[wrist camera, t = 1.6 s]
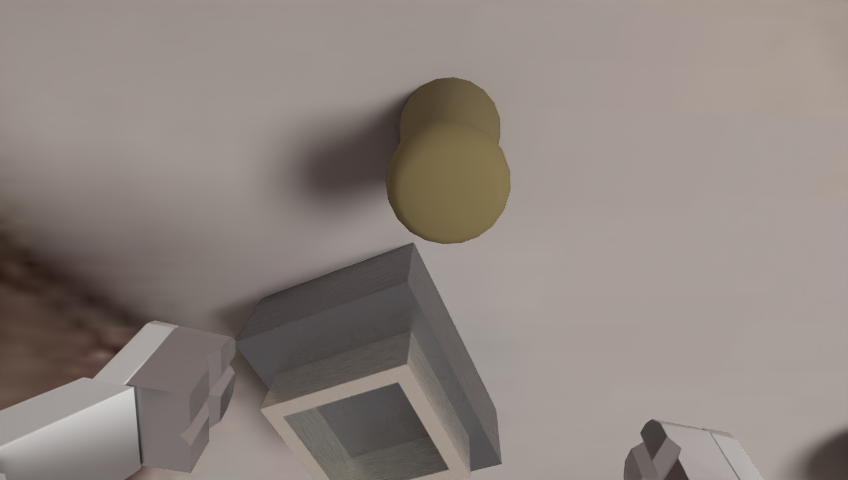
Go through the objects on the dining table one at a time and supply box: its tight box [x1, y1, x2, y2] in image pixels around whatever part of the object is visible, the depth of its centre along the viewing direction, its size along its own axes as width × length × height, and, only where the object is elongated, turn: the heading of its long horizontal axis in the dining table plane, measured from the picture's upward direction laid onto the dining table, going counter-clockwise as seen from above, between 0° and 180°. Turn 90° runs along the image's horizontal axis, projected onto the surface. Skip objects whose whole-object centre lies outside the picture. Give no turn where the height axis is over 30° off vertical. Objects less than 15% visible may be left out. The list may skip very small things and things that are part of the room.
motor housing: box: [235, 243, 502, 480], centre depth 33 cm, size 16×12×8 cm
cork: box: [386, 77, 510, 244], centre depth 24 cm, size 6×6×11 cm
